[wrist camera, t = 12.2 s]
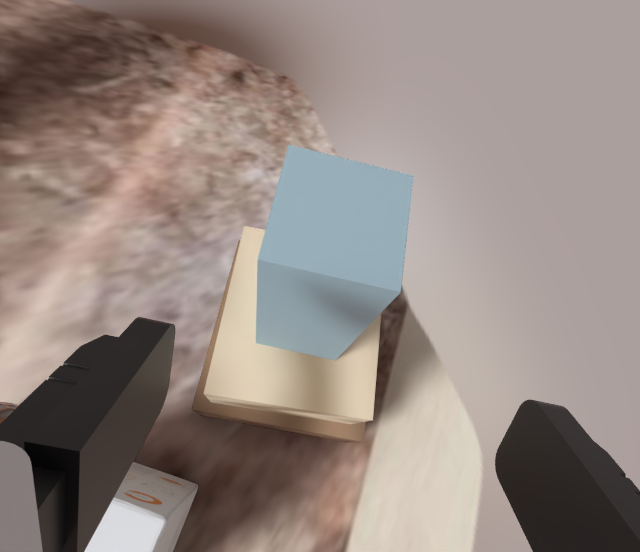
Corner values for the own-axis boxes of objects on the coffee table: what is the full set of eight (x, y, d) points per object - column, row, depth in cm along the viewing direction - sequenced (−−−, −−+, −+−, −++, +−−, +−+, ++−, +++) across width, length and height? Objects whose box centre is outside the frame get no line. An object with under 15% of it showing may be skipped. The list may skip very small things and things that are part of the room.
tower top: (211, 402, 26) (203, 393, 21) (244, 259, 30) (243, 225, 25) (350, 424, 26) (372, 420, 22) (365, 282, 30) (385, 254, 26)
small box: (39, 549, 26) (-137, 640, 14) (91, 446, 29) (-19, 449, 17) (160, 590, 26) (89, 713, 14) (202, 484, 29) (170, 513, 17)
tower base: (201, 415, 31) (191, 409, 25) (240, 271, 36) (238, 240, 30) (343, 442, 32) (363, 441, 26) (362, 298, 36) (382, 272, 31)
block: (255, 343, 22) (257, 259, 12) (274, 269, 24) (288, 144, 14) (335, 360, 23) (400, 292, 13) (347, 286, 25) (413, 175, 14)
